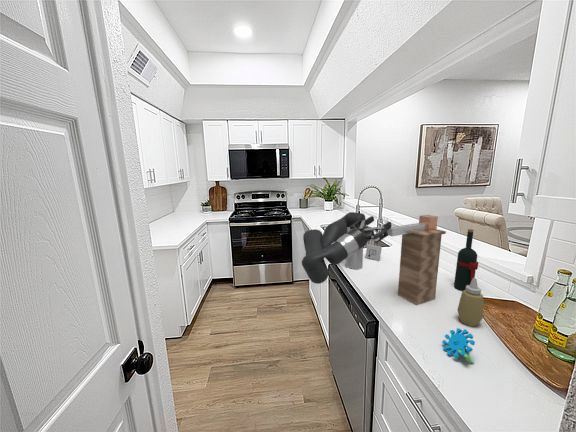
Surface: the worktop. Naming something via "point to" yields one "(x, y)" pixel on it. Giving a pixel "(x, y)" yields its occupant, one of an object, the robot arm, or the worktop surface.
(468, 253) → the wine bottle
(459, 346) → the blue flower
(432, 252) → the shelf post
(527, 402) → the worktop surface
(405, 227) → the copper head mallet
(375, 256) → the electrical switch
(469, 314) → the squeeze bottle
